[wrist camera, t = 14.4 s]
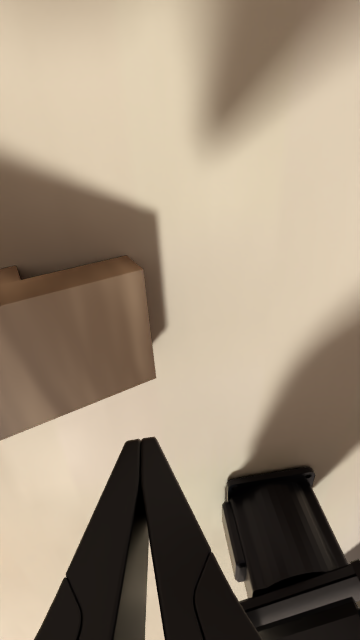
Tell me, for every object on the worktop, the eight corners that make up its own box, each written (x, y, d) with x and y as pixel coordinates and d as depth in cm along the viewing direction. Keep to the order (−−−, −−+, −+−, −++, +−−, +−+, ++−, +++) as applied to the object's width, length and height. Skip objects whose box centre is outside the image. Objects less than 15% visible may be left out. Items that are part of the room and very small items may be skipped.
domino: (143, 269, 13) (-199, 356, 9) (156, 378, 16) (-95, 478, 12) (126, 255, 14) (-177, 325, 10) (141, 357, 17) (-88, 442, 13)
